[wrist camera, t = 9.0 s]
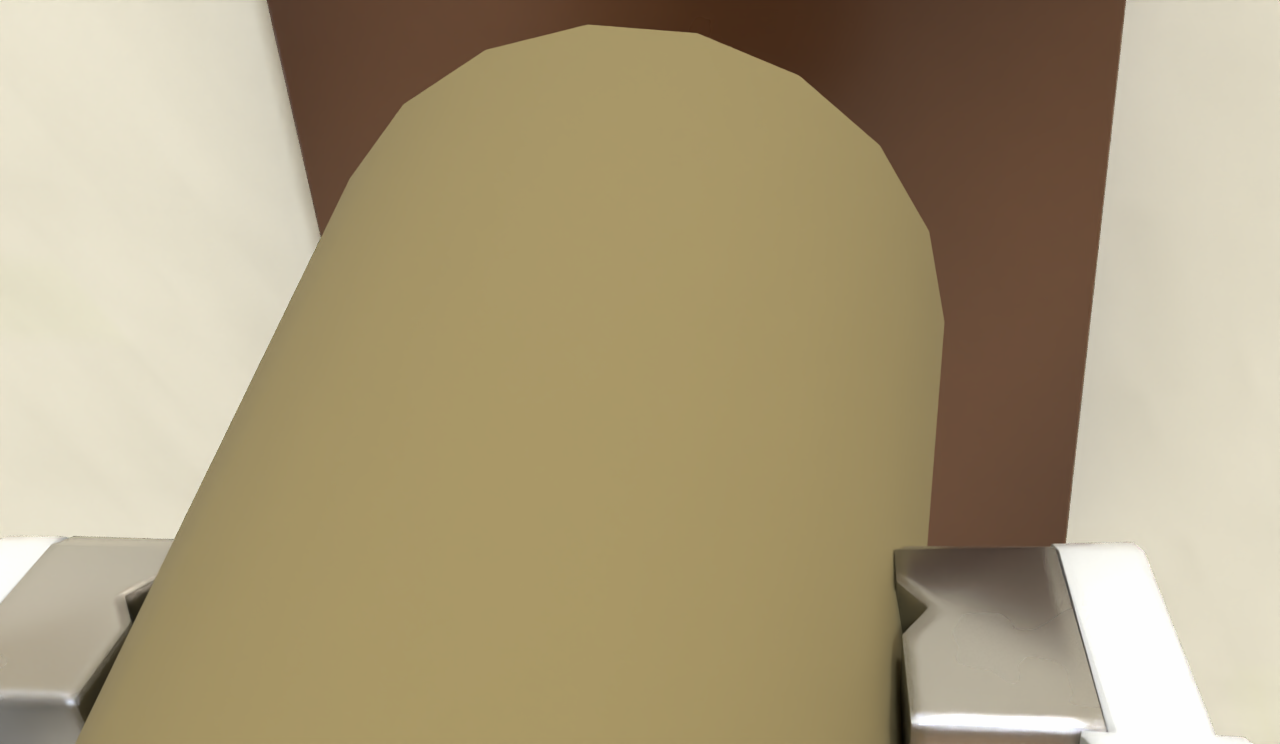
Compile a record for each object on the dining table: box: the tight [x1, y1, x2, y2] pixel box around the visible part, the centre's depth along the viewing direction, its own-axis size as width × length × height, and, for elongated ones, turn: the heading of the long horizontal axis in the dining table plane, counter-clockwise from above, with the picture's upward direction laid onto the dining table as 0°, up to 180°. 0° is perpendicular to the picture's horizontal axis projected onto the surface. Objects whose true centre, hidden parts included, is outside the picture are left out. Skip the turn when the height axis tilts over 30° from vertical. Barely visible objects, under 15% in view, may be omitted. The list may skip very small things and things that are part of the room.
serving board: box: [267, 0, 1126, 547], centre depth 18 cm, size 12×18×2 cm, turn 5°
